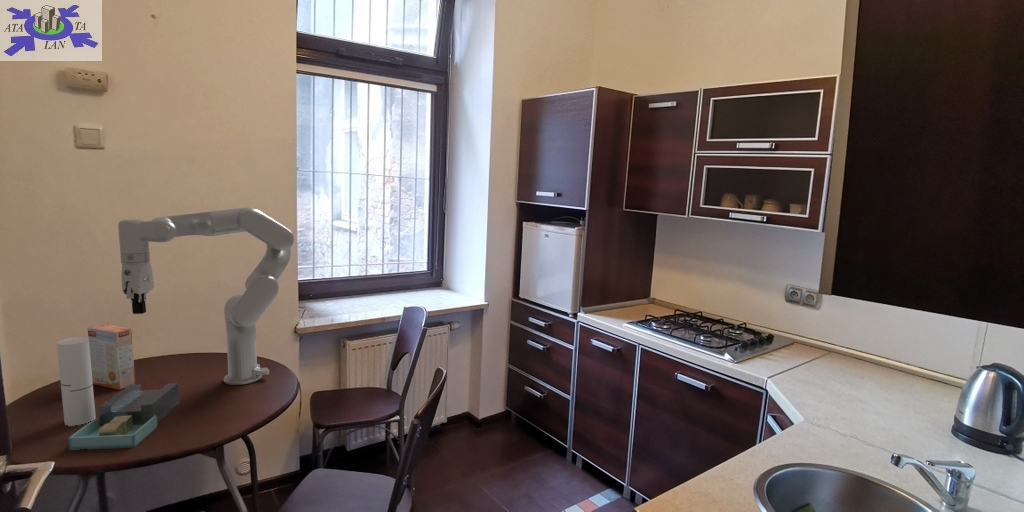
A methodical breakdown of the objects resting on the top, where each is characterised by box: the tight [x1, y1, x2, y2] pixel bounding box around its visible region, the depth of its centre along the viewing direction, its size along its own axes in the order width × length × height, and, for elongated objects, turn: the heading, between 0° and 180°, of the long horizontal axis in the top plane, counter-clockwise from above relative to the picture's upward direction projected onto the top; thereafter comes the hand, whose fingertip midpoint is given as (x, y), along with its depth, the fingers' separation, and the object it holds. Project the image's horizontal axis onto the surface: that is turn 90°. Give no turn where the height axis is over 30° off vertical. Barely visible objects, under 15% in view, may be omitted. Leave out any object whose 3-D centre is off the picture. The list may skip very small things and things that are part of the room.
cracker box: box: [87, 323, 136, 391], centre depth 178 cm, size 14×6×21 cm, turn 71°
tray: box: [67, 416, 158, 451], centre depth 144 cm, size 16×12×4 cm
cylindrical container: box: [56, 336, 97, 427], centre depth 152 cm, size 7×7×25 cm
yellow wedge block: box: [109, 415, 133, 435], centre depth 146 cm, size 4×4×4 cm
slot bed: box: [99, 382, 180, 426], centre depth 157 cm, size 14×16×7 cm
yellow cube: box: [99, 422, 124, 436], centre depth 142 cm, size 4×4×4 cm
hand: (139, 313), depth 166 cm, fingers closed
